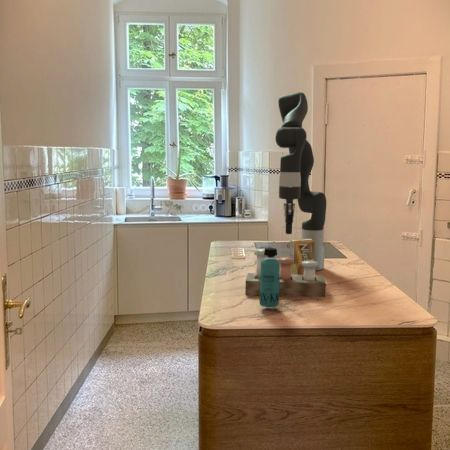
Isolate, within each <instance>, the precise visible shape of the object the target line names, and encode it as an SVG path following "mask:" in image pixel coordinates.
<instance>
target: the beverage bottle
mask: <svg viewBox="0 0 450 450" xmlns="http://www.w3.org/2000/svg"><path fill="white" fill-rule="evenodd" d="M264 255H266V256H275V258H264V259H263V260H262V261H261V273H260V289H259V290H260V295H259V298H258V299H259V301H258V303H259V306H261V307H263V308H278V307H279V305H280V296H279V286H280V262H279V261H278V258H276V256H277V255H278V249H277V248H275V247H273V248H265V251H264Z"/></svg>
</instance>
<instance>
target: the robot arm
mask: <svg viewBox="0 0 450 450" xmlns="http://www.w3.org/2000/svg"><path fill="white" fill-rule="evenodd" d="M308 108H309V107H308V100H307V96H306V95H305V93H304V92H294V93H289V94H284V95H281V96H279V98H278V109H279V113H280V117H281V120H282V124H281V125H280V126H279V128H278V129H277V131H276V134H275V143H276V145H277V147H279V148H283V149H286V148H287V149H288V152H289V154H284V155H282V156H281V157H280V162H279V163H280V165H279V166H280V167H279V179H278V181H279V183H278V198H279V199H282V200H285V202H284V203H283V211H284V213H283V216H284V220H285V221H284V222H285V234H286V235H292V233H293V223H294V217H295V210H296V204H295V203H294V200H297V204H298V207H299V210H300V211H301V212H303V213H307V214H311V217H310V218H309V219H308V220H305V221H302V223H301V239H312V240H314V261H316V262H318V266H317V267H316V268H315V271H321V270H323V269H325V249H326V248H325V246H324V227H325V224H326V223H325V222H326V213H327V211H326V210H327V197H326V195H325V194H324V192H321V191H311V190H310V185H309V178H310V175H311V173H312V169H313V167H314V163H315V157H314V154H313V149H312V145H311V143H310V142H309V141H308V139H307V136H308V135H307V131H306V129H304V128H303V122H304V119H305V118H306V116H307V113H308V110H309V109H308Z"/></svg>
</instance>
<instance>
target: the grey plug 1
mask: <svg viewBox="0 0 450 450" xmlns="http://www.w3.org/2000/svg"><path fill="white" fill-rule="evenodd" d="M264 251H265V249H260V248H256V249H254V255H255V256H256V272H255V273H256V279H260V273H261V261H262V260H263V259H264V258H268V256H266V255H264Z"/></svg>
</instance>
